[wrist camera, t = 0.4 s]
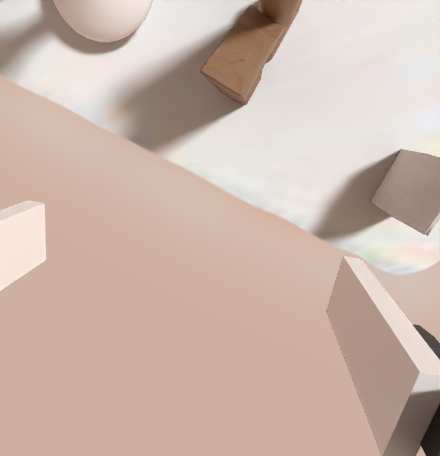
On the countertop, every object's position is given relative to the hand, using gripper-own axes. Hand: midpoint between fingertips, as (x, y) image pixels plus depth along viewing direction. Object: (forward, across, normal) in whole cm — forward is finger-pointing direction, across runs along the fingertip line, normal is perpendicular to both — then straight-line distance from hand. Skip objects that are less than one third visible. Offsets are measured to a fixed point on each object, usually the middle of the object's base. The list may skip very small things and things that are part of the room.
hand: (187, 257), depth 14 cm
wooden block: (+27, +1, +13) cm, 30 cm away
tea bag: (+27, +20, +2) cm, 34 cm away
